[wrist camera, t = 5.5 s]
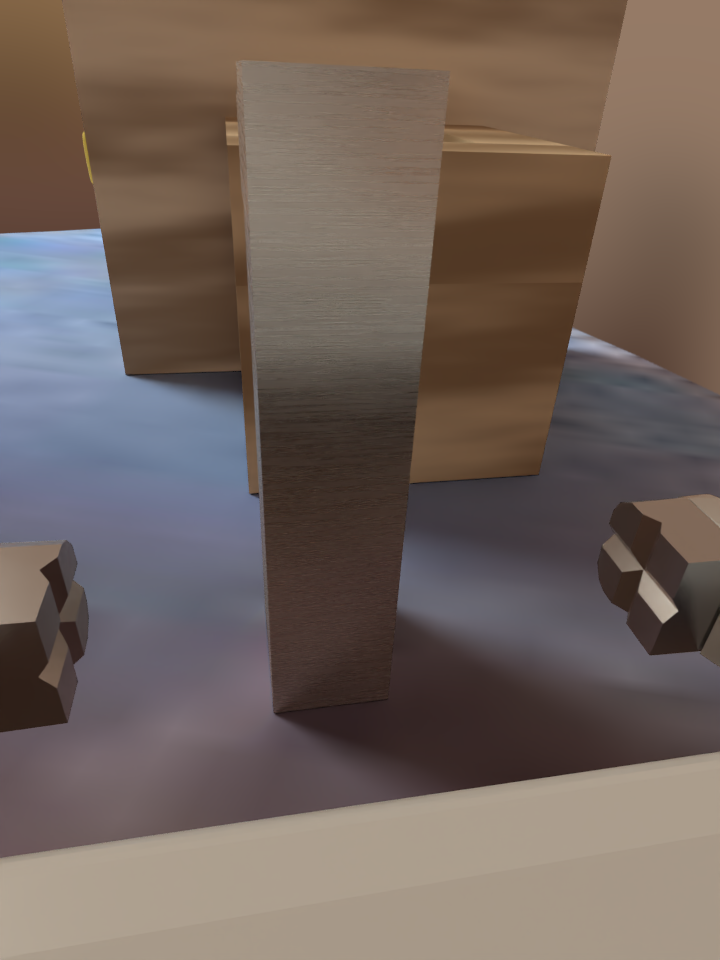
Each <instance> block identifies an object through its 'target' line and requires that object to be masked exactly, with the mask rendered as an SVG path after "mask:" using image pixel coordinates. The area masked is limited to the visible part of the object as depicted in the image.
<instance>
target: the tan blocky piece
mask: <svg viewBox="0 0 720 960" xmlns="http://www.w3.org/2000/svg"><path fill="white" fill-rule="evenodd" d="M627 1H628V0H62V3H63V9H64V15H65V21H66V26H67V33H68V38H69V44H70V50H71V56H72V62H73V67H74V74H75V80H76V85H77V91H78V97H79V103H80V109H81V115H82V121H83V127H84V132H85V138H86V144H87V150H88V156H89V162H90V168H91V174H92V179H93V185H94V191H95V197H96V203H97V208H98V215H99V220H100V226H101V232H102V238H103V244H104V250H105V256H106V262H107V268H108V273H109V279H110V285H111V291H112V297H113V303H114V309H115V315H116V320H117V326H118V332H119V338H120V344H121V350H122V356H123V362H124V367H125V373H126V375H127V374H157V373H187V372H218V371H241V373H242V388H243V404H244V419H245V435H246V450H247V465H248V481H249V494H251V493H259V483H258V464H257V446H256V427H255V408H254V390H253V371H252V352H251V334H250V315H249V296H248V278H247V259H246V240H245V222H244V203H243V197H242V191H241V174H240V156H239V138H238V120H237V101H236V89H237V72H236V61H240V60H247V61H267V62H286V63H306V64H326V65H345V66H365V67H385V68H404V69H424V70H444V71H450V78H449V88H448V98H447V108H446V118H445V128H444V138H443V148H442V158H441V168H440V178H439V189H438V199H437V209H436V219H435V229H434V239H433V249H432V259H431V269H430V279H429V289H428V299H427V309H426V319H425V329H424V339H423V349H422V359H421V369H420V379H419V390H418V400H417V410H416V420H415V430H414V440H413V450H412V460H411V470H410V480H409V483H418V482H433V481H448V480H463V479H478V478H493V477H508V476H524V475H539V471H540V466H541V462H542V458H543V453H544V449H545V444H546V440H547V436H548V431H549V427H550V423H551V418H552V414H553V409H554V405H555V401H556V396H557V392H558V388H559V383H560V379H561V374H562V370H563V366H564V361H565V357H566V353H567V348H568V344H569V340H570V335H571V331H572V326H573V322H574V318H575V313H576V309H577V305H578V300H579V296H580V291H581V287H582V283H583V278H584V274H585V270H586V265H587V261H588V257H589V252H590V247H591V243H592V239H593V235H594V230H595V226H596V221H597V217H598V212H599V208H600V204H601V200H602V195H603V191H604V187H605V182H606V178H607V174H608V169H609V165H610V160H611V155H606V154H602V153H598V152H595V149H596V144H597V140H598V135H599V130H600V126H601V120H602V116H603V111H604V107H605V102H606V98H607V93H608V89H609V84H610V79H611V75H612V70H613V65H614V61H615V56H616V51H617V47H618V42H619V38H620V33H621V28H622V23H623V19H624V14H625V10H626V5H627Z"/></svg>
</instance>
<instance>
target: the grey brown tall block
mask: <svg viewBox="0 0 720 960" xmlns="http://www.w3.org/2000/svg"><path fill="white" fill-rule="evenodd" d="M236 72H237V89H236V101H237V120H238V138H239V156H240V174H241V191H242V197H243V203H244V222H245V240H246V259H247V278H248V296H249V315H250V334H251V352H252V371H253V390H254V408H255V427H256V446H257V464H258V483H259V501H260V520H261V539H262V557H263V576H264V595H265V610H266V623H267V635H268V648H269V660H270V672H271V685H272V697H273V709H274V713H279V712H287V711H295V710H303V709H311V708H319V707H327V706H335V705H343V704H351V703H358V702H366V701H374V700H382V699H388V691H389V681H390V671H391V661H392V651H393V641H394V631H395V621H396V611H397V601H398V591H399V580H400V570H401V560H402V550H403V540H404V530H405V520H406V510H407V500H408V490H409V480H410V470H411V460H412V450H413V440H414V430H415V420H416V410H417V400H418V390H419V379H420V369H421V359H422V349H423V339H424V329H425V319H426V309H427V299H428V289H429V279H430V269H431V259H432V249H433V239H434V229H435V219H436V209H437V199H438V189H439V178H440V168H441V158H442V148H443V138H444V128H445V118H446V108H447V98H448V88H449V78H450V71H444V70H424V69H404V68H385V67H365V66H345V65H326V64H306V63H286V62H267V61H247V60H240V61H236Z"/></svg>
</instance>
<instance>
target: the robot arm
mask: <svg viewBox="0 0 720 960" xmlns="http://www.w3.org/2000/svg"><path fill="white" fill-rule="evenodd" d="M609 524H610V526H611V528H612V530H613V532H614V535H613V536H612V537H611V538H610V539H609V540H608V541H606V542H605V543H604V544H603V545H602V548H601V551H600V555H599V559H598V562H597V563H598V575H599V581H600V583H601V586H602V588H603V591H604V593H605V594H606V595H607V597H608V598H609V600H610V601H611V603H613V604H615V605H616V606H618V607H620V608H622V609H623V610H625V611H627V612H628V615H627V622H626V624H627V625H628V626H629V628H630V629H631V630H632V632H633V633H634V635H635V636H636V637H637V639H638V640H639V641H640V643H641V644H642V646H643V647H644V648H645V650H646V651H647V652H648V654H649V655H661V654H672V653H684V652H696V651H701V653H700V654H701V655H703V656H704V657H706V658H707V659H709V660H710V661H712V662H713V663H714V664H716V665H717V666H719V667H720V498H718V497H715V496H712V495H710V494H703V495H693V496H683V497H678V498H672V499H658V500H645V501H631V502H620V503H619V505H618V506H617V507H616V508H615V509H614V511H613V514H612V517H611V520H610V523H609ZM77 564H78V563H77V560H76V556H75V553H74V549H73V546H72V544H71V543H70V542H69V541H67V540H55V541H35V542H14V543H0V732H7V731H14V730H21V729H28V728H35V727H42V726H49V725H56V724H63V723H68V720H69V716H70V711H71V707H72V703H73V699H74V695H75V691H76V687H77V683H78V680H77V676H76V672H75V669H74V664H75V663H76V662H77V661H78V660H79V659H80V658H81V657H82V656H84V653H85V649H86V644H87V639H88V623H89V615H88V606H87V599H86V595H85V591H84V588H83V587H82V586H80V585H79V584H78V583H76V582H75V581H74V580H73V578H74V575H75V571H76V568H77ZM0 960H720V752H714V753H707V754H701V755H694V756H687V757H681V758H674V759H667V760H661V761H654V762H647V763H640V764H634V765H627V766H620V767H614V768H607V769H600V770H594V771H587V772H580V773H573V774H567V775H560V776H553V777H546V778H540V779H533V780H526V781H519V782H512V783H506V784H499V785H492V786H485V787H478V788H472V789H465V790H458V791H451V792H444V793H438V794H431V795H424V796H417V797H410V798H404V799H397V800H390V801H383V802H376V803H370V804H363V805H356V806H349V807H342V808H336V809H329V810H322V811H315V812H309V813H302V814H295V815H288V816H282V817H275V818H268V819H261V820H254V821H248V822H241V823H234V824H227V825H221V826H214V827H207V828H200V829H194V830H187V831H180V832H173V833H167V834H160V835H153V836H146V837H140V838H133V839H126V840H119V841H113V842H106V843H99V844H92V845H85V846H79V847H72V848H65V849H58V850H52V851H45V852H38V853H31V854H25V855H18V856H11V857H4V858H0Z"/></svg>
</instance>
